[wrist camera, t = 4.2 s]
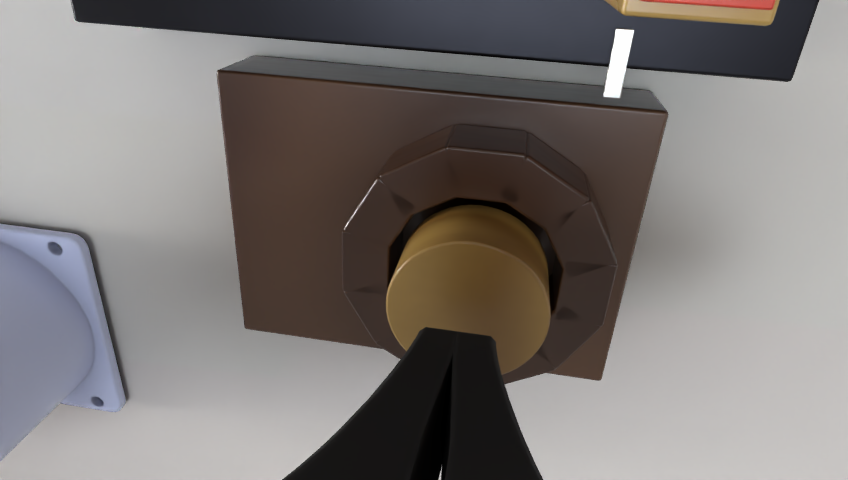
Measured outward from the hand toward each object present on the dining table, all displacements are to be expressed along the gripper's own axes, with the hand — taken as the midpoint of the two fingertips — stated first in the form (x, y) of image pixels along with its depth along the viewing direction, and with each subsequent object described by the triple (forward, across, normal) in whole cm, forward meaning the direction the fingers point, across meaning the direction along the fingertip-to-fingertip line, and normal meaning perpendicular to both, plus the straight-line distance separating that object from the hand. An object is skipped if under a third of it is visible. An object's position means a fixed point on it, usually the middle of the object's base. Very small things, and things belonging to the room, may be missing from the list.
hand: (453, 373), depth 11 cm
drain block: (+8, +1, 0) cm, 8 cm away
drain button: (+4, 0, 0) cm, 4 cm away
